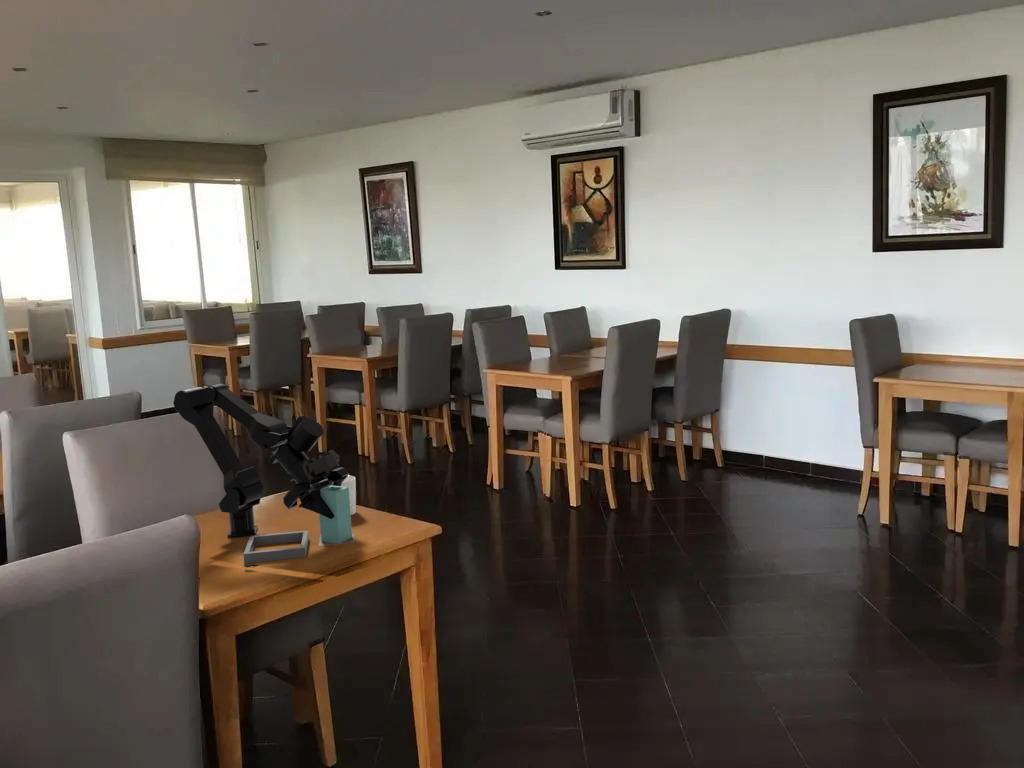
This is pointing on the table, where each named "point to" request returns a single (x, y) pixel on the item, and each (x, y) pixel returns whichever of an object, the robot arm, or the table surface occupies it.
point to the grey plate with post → (348, 541)
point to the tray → (277, 553)
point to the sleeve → (336, 515)
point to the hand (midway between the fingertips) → (340, 514)
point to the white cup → (351, 492)
